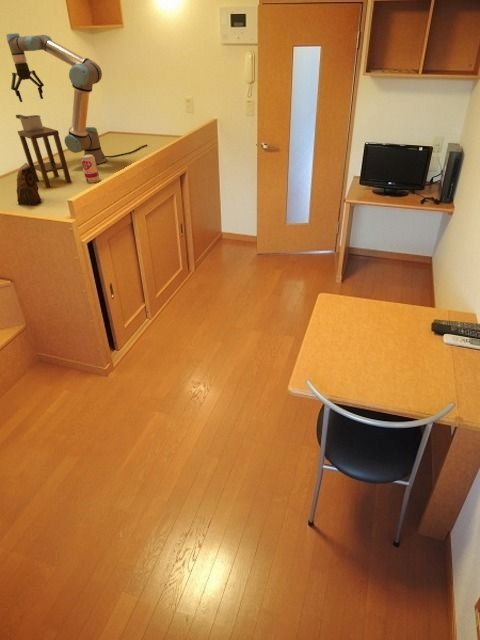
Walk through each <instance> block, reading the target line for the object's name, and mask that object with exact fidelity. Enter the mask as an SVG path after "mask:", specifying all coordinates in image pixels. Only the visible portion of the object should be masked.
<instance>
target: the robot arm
mask: <svg viewBox="0 0 480 640" xmlns="http://www.w3.org/2000/svg"><path fill="white" fill-rule="evenodd" d="M5 36H6V40H7V45H8V47H9V51H10V53H11V57H12V60H13V63H14V67H15V70H16V72H11V77H12V78H11V79H12V80H11V84H10V90H12V91H14V92H15V95H16V97H18V100H19V103H23V99H22V95H21V93H20V92H21V91H20V90H19V88H20V85H21V83H22V81H26V80H30V81H31V82H32V83H33V84H35V85H36V87H37V91H38V94H39V98H40V100H44V97H43V96H44V95H43V93H44V91H43V87H44V86H45V84H44V83H43V81H42V80H41V79H40V77H39V76H38V75H37V73H36V71H35V70H30V68H29V63H28V62H27V57H26V53H25V52H35V51H44V52H47V53H48V54H50V55H51V56H53V57H55V58H57V59H59V60H60V61H62V62H64V63H66V64H67V65H69V66H71V67H70V69H69V70H68V78H69V80H70V83H71V86H72V88H73V89H74V91H73V105H72V115H71V116H72V119H71V126H70V127H69V128H68V134H67V135H66V136H65V137H64V144H65V145H64V146H65V147H66V148H67V150H68V151H70V152H72V153H73V154H78V153H81V152H83V155H89V154H91V155H93V156H94V157H95V161H96V165H100V164H104V163H106V162H107V158H115V157H120V156H124V155H125V156H126V155H130V154H132V153H135V152H137V151H139V150H140V149H142V148H144V147H147V146H148V144H147V143H146V144H143V145H141V146H139V147H137V148H136V149H134V150H132V151H128V152H123V153H119V154H114V155H105V153H104V152H103V150H102V147H101V142H100V137H99V133H98V129H97V128H96V127H93V126H87V120H88V110H89V109H88V108H89V100H90V94H91V93H92V92H93V86H94V85H95V84H98V83H100V81H101V80H102V78H103V77H102V76H103V72H102V69H101V67H100V65H99V64H98V63H96V62H95V61H93V60H91V59H90V58H88V57H86V58H84V57H82V56H81V55H79V54H77V53H76V52H74V51H72V50H70V49H69V48H66V47H64V46H63V45H61V44H60V43H57V42H55V41H54V40H53V39H52V38H51V36H50V35H47V34H39V35H25V36H20V34H19V32H13V33H10V32H9V33H6V35H5ZM31 75H32V76H33V77H34V78H33V77H32V76H31ZM17 77H18V79H16V78H17ZM16 80H17V81H16Z"/></svg>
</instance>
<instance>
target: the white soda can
mask: <svg viewBox="0 0 480 640" xmlns="http://www.w3.org/2000/svg"><path fill="white" fill-rule="evenodd" d="M80 162H81V165H82V170H83V174H84V177H85V182H87V183H89V184H92V183H97V182H99V181H100V180H101V179H100V175H99V170H98V166H97V164H96V161H95V157H94V156H93V155H91V154H89V155H84V154H83V155H81V156H80Z"/></svg>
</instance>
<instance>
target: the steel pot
mask: <svg viewBox="0 0 480 640" xmlns="http://www.w3.org/2000/svg"><path fill="white" fill-rule="evenodd" d="M15 118H16V119H17V120H18V119H19V120H20V122H21V126H22V130H24V131H25V132H32V131H38V130H42V129H43V123H42V119H41V115H39V114H32V115H22V114H15Z"/></svg>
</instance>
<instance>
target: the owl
mask: <svg viewBox="0 0 480 640" xmlns="http://www.w3.org/2000/svg"><path fill="white" fill-rule="evenodd" d="M32 170H33V169H32V168H31V166H30V165H29V164H28V162H24V164H22V165H21V166H20V167H19V170H17V171H18V172H17V175H16V177H17V178H16V198H17V199H16V201H17V204H18V205H22V206H32V207H33V206H37V205H39V204H41V203H42V201H41V200H42V199H41V196H40V193H39V190H40V189H39V186H38V182H36V179H35V176H34V175H33V171H32Z"/></svg>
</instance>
